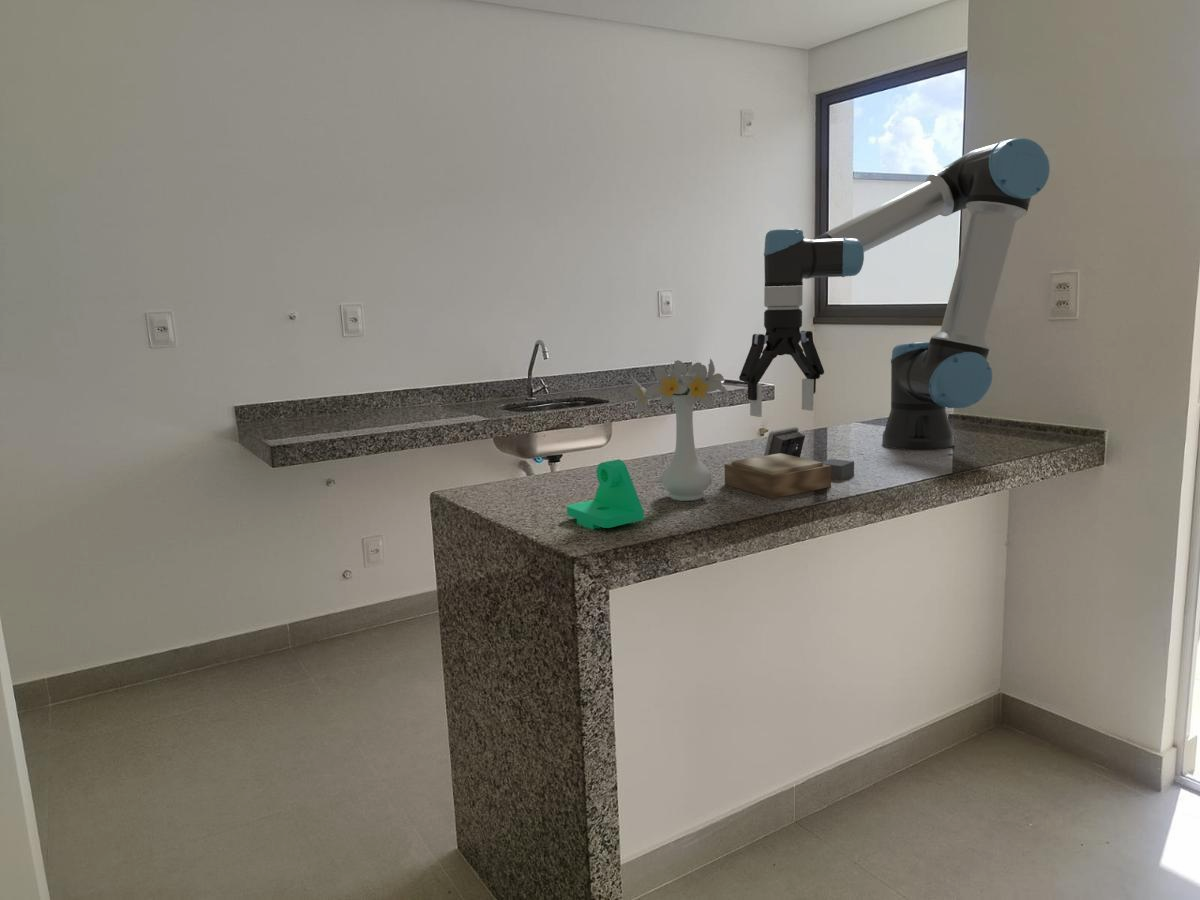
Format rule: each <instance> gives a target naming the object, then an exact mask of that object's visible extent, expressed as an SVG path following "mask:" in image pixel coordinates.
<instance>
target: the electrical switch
mask: <svg viewBox="0 0 1200 900" xmlns="http://www.w3.org/2000/svg"><path fill="white" fill-rule="evenodd" d="M805 437H806V435H805V434H802V433H801V432H799V427H797V426H791V427H787V428H782V429H778V430H777V429H776V430H772V431H770V432H769V433H768V437H767V441H766V446H765V450H764V455H763V456H767V455H773V454H779V453H782V454H787V455H791V456H796V457H800V458H801V454H802V450H803V447H804V443H805Z"/></svg>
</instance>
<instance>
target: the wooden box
mask: <svg viewBox="0 0 1200 900" xmlns="http://www.w3.org/2000/svg"><path fill="white" fill-rule="evenodd" d="M823 462H824V461H818V460H815V459H814V460H813V459H808V458H805V457H801V456H800V457H796V456H791V455H787V454H782V453H779V454H773V455H767V456H764V455H762V456H756V457H748V458H744V459H738V460H732V461H731V462H730V463H725V464H724V486H729V487H732V488H736V489H737V490H742V491H745V492H748V493H752V494H755V495H760V496H763V497H766V498H770V499H776V498H782V497H786V496H787V497H788V496H792V495H797V494H801V493H806V492H811V491H812V492H813V491H817V490H822V489H826V488H831V487H832V479H831V466H830V465H825V464H823Z"/></svg>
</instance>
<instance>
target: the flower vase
mask: <svg viewBox="0 0 1200 900" xmlns="http://www.w3.org/2000/svg"><path fill="white" fill-rule="evenodd" d="M713 361H714V360H713V359H712V358H711V357H710V359H709V363H708V366H707V367H708V369H707V367H706V365H705V364H702V362H695V363H693V364H692V365H691V366H690V367H689V368H688V369H687V367H686V365H685V364H684V362H683V361H681V360H680V359H677V360H674V363H673V364H672V362H670V365H669V368H668V372H666V370H665V369H663V368H662V367H659V366H657V367H655V369H654V371H653V372H654V376H655V379H656V381H658V383H655V384H652V385H650V386H649V387H648V388H647V389H646V388H645V387H644V386H642V385H641V384H640V383H639V382H638V381H637V380H636V379H635V378H634V377H633V375H629V378H630V380H631V383H632V385H633V386H629V387H628V393H629V394H630V395H631V396H632V397H633V398H638V399H637V401H636V411H637V413H638V415H640V414H642V411H643V412H644V414H645V416H647V415H648V404H649V399H650V396H652V398H651V401H654V399H656V398H658V397H659V396H660V404H661V405H662V407H667V406H669V404H671V401H673V406H674V411H675V418H676V419H675V420H676V421H675V422H676V425H675V426H676V427H675V428H676V430H675V433H676V435H675V437H676V438H675V450H674V453H673V456H672V459H671V460H670V462H669V464H668V465H667V466H666V467H665V468H664V469H663V471H662V473H661V476H660V484H661V486H662V487H663V488H664V490H665V491H666V492H668V493H669V498H670V500H671V499H672V500H673V501H679V502H690V501H691V502H692V501H697V500H701V499H702V498H704V495H705V493H704V492H706V491H707V490H708V489H709V487H710V486H711V485H712V481H713V478H712V477H713V476H712V473H711V471H710V469H708V467H707V466H706V465H705V464H704V463H703V462H702V461H701V459H700V457H699V456H698V455H699V454H698V453H697V449H696V446H695V445H696V444H695V438H694V421H693V419H694V418H693V415H694V406H695V404H696V403H697V402H698V399H699V400H700V401H701V403H703V405H704V406H706V407H707V408H708V409H712V408H714V404H715V403H714V398H713V397H712V395H711V394H710V393H711V392H714V391H717V390H718V391H720V392H723V393H724V394H725V395H727V396H730V393H729V391H728V389H727V388H726V387H725V386H723V384H724V383H725V378H724V376H723V375H722V374H721V373H719V372H717V373H715V372H716V371H715V370H716V368H715V365H714V362H713ZM672 365H673V367H672Z"/></svg>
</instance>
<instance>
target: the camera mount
mask: <svg viewBox="0 0 1200 900" xmlns="http://www.w3.org/2000/svg"><path fill="white" fill-rule="evenodd" d="M596 477H597V481H598V483H599V484H598V488H597V489H596V490H597V491H596V492H595V495H594V498H593V499H590V500H585V501H581V502H577V503H576V502H575V503H571V504H567V505H566V513H567V514H566V515H567V516H568V517H571V518H574V519H576V524H577V525H578V524H579V525H578V526H581V525H582V527H585V528H587V527H588V529H590V528H591V529H590V530H596V529H595V528H598V529H600V528H599V527H602V528H603V529H610V528H614V527H619V526H623V525H627V524H629V523H630V524H631V523H635V522H639V521H644V519H645V517H644V515H645V514H644V509H643V506H642V504H641V500H640V499H639V495H638V493H637V490H636V488H635V485H634V483H633V480H632V477H631V475H630V472H629V470H628V467H627V465H626V464H625V462H624V461H623V460H621V459H613V460H607V461H604V462H600V463H599V464H598V465H597V467H596Z"/></svg>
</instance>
